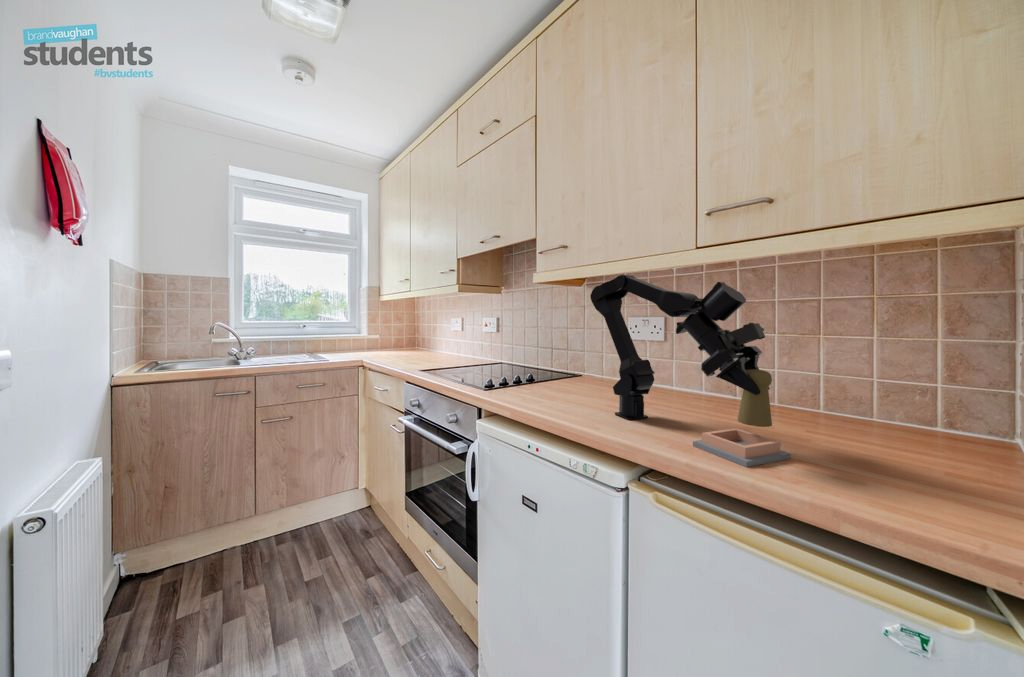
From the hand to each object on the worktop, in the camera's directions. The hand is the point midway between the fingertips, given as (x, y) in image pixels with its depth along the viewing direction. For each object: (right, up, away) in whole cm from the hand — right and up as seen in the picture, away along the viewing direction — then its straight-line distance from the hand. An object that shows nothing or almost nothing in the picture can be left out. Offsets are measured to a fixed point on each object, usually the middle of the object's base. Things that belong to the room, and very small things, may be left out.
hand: (763, 392), depth 74 cm
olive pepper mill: (-1, -7, +1) cm, 7 cm away
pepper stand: (-5, -12, 0) cm, 13 cm away
